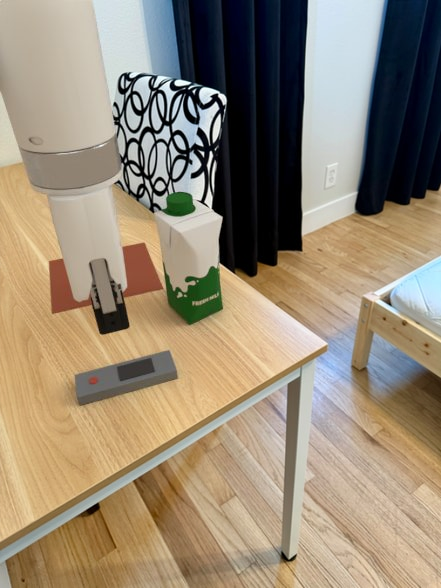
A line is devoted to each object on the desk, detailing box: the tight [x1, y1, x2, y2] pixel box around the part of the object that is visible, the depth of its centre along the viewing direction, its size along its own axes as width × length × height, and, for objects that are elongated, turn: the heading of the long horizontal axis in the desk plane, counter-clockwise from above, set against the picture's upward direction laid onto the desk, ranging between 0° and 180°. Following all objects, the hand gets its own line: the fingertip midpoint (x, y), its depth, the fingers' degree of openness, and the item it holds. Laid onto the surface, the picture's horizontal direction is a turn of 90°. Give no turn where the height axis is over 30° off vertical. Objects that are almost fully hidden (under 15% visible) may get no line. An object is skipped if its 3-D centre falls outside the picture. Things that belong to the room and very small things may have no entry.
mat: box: [48, 242, 164, 315], centre depth 84 cm, size 20×18×1 cm
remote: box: [74, 349, 179, 406], centre depth 62 cm, size 14×4×2 cm, turn 109°
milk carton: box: [153, 191, 224, 326], centre depth 69 cm, size 9×9×20 cm
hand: (114, 326), depth 46 cm, fingers closed
